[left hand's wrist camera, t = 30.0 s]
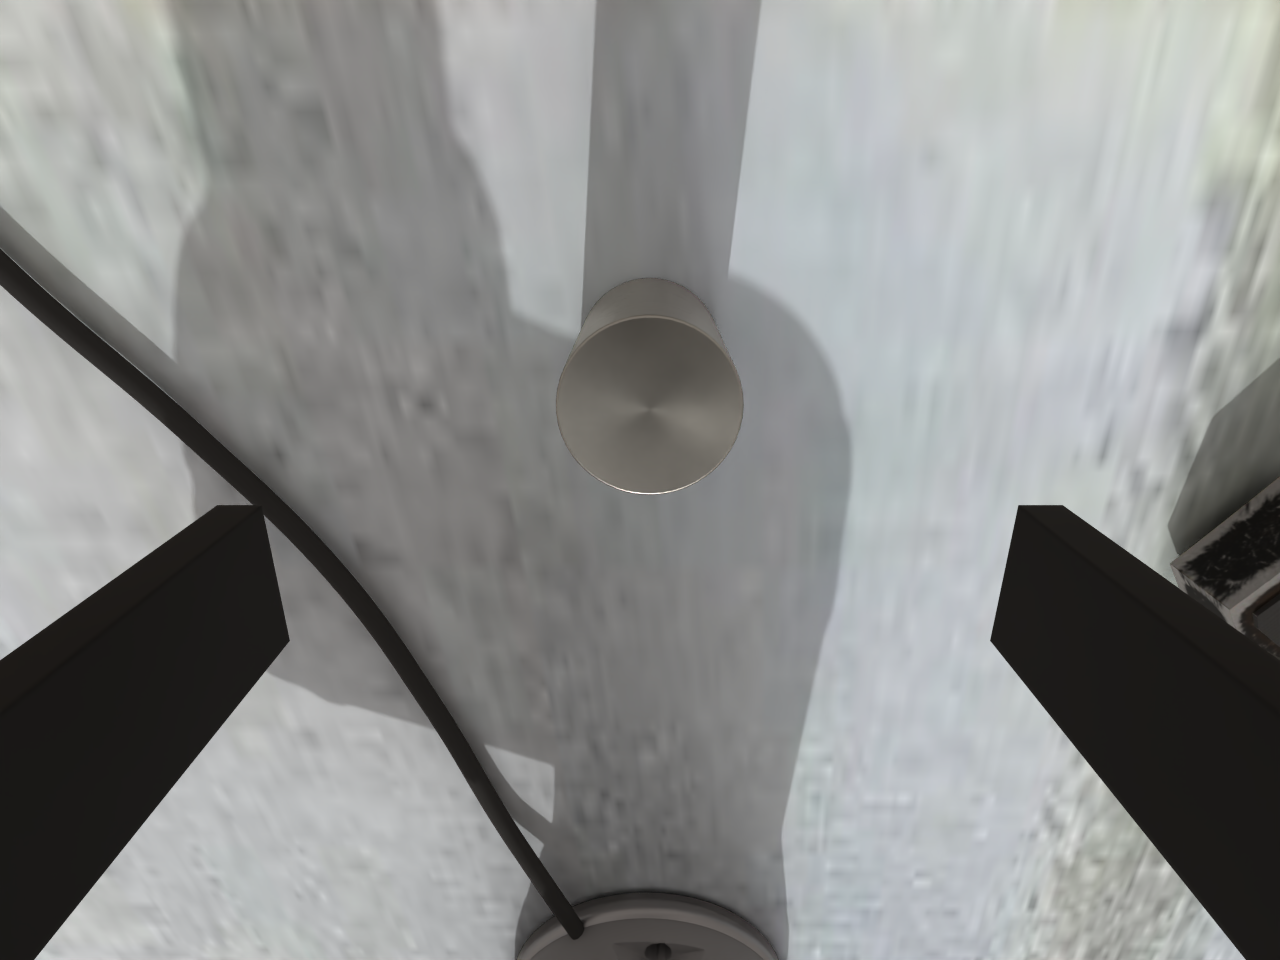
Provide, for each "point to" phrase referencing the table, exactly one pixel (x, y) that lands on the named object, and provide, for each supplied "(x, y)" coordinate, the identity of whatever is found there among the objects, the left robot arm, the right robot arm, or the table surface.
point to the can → (649, 390)
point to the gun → (1240, 569)
